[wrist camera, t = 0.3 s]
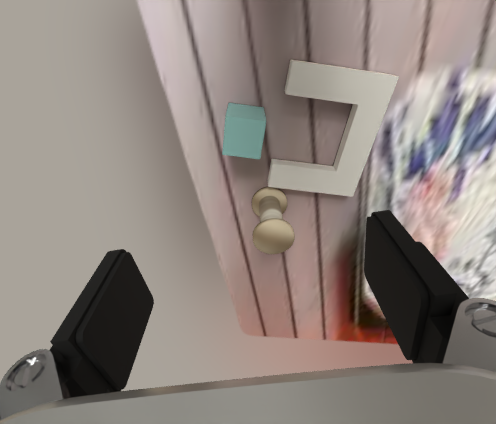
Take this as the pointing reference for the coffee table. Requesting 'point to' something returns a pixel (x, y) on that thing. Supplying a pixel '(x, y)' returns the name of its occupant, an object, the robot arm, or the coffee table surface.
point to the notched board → (356, 131)
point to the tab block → (244, 131)
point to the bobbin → (271, 221)
